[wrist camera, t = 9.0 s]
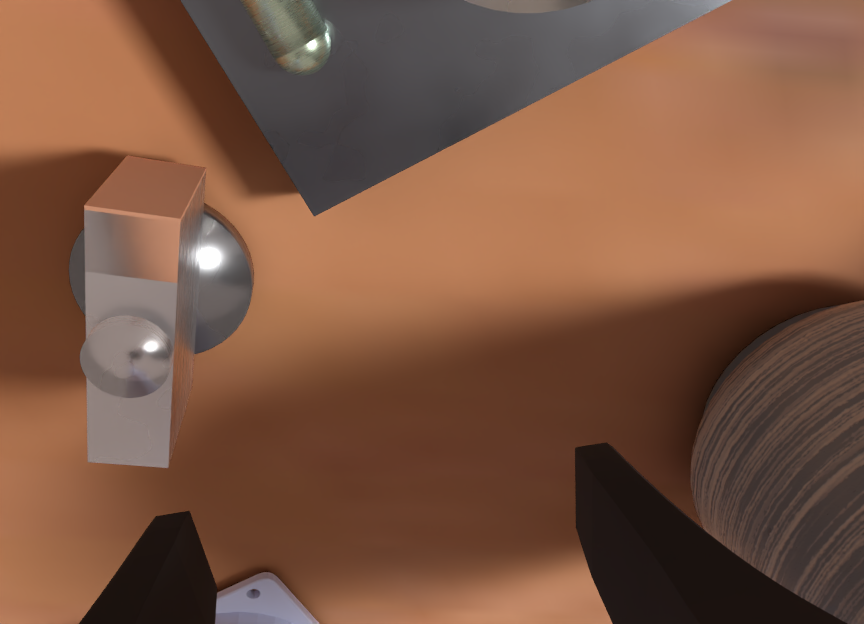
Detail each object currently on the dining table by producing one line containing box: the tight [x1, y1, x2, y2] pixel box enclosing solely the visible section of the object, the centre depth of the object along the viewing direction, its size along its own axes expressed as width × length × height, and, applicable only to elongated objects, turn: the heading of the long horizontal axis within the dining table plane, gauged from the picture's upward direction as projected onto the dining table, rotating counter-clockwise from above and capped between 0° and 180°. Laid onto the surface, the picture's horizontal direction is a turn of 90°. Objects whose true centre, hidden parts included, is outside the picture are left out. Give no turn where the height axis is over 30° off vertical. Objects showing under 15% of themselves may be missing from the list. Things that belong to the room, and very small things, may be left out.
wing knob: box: [69, 156, 254, 468], centre depth 19 cm, size 7×5×5 cm
